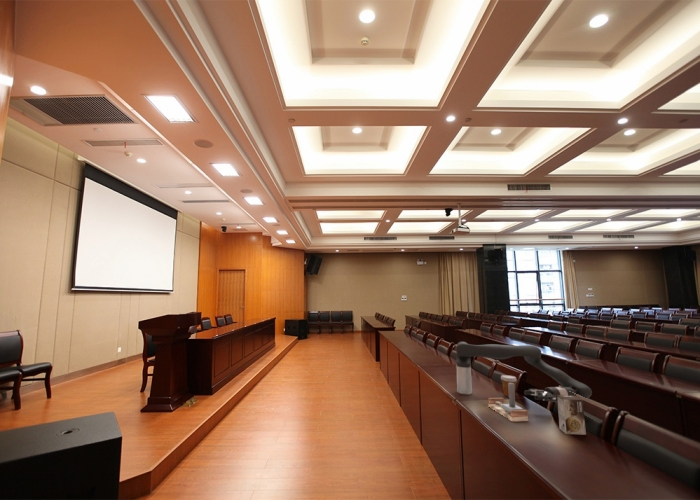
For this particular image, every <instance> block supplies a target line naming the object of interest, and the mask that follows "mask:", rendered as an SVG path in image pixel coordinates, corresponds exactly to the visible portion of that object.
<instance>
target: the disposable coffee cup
mask: <svg viewBox="0 0 700 500" xmlns="http://www.w3.org/2000/svg"><path fill="white" fill-rule="evenodd" d="M500 379H501V383H502V389H503V395H504V396H505V397H508V398H509V390H508V383H514V389H515V390H516V385H517V377H516V376H514V375H506V374H503V375H502V374H501V376H500Z"/></svg>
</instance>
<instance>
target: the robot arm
mask: <svg viewBox="0 0 700 500" xmlns="http://www.w3.org/2000/svg"><path fill="white" fill-rule="evenodd" d="M455 351H456V355H455V356H456V358H455V360H456V361H455V362H456V392H457V393H458V394H460V395H468V396H469V395H472V390H473V389H472V363H471V362H472V361H471V360H472V358H471V357H479V358H480V357H481V358H486V359H495V360H506V359H509V358H512V357H523V358H524V360H525V361H526V362H527V363H528V364H530V365H531V366H533V367H534V368H536V369H537V370H539V371H541V372H542V373H544V374H545V375H547V376H549V377H551V378H552V379H553V380H555V382H557V383H558V384H559V385H560V386H562V387H560V386H550V387H549V386H548V387H545V388H544V389H539V388H528V390H524V392H523V393H524V396H534V400H536V401H540V400H541V401H546V402H550V403H553V402H554V403H558V400H557V395H566V396H576V394H579V395H581V396H583V397H585V398H588V400H589V399H590V397H591V396H592V394H593V392H592V388H590V387H589V386H588V385H587V384H585V383H583V382H581V381H578V380H576V379H574V378H572V377H571V376H569V375H568V374H567V373H566V372H564V371H562V370H561V369H559V368H557V367H553V366H552V365H549V364H548V363H546V362H545V361H544V360H543V359H542V358H541V356H542V350H541V349H540V347H538V346H536V345H531V344H530V345H529V344H528V345H527V344H526V345H525V344H524V345H510V344H494V343H493V344H492V343H491V344H489V343H487V344H470V343H467V342H466V341H459V342H457V344H456V346H455ZM572 387H573V388H572ZM574 388H575V389H574ZM569 391H571V392H569ZM572 392H574V393H576V394H575V395H574V393H572Z"/></svg>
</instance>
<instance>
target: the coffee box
mask: <svg viewBox="0 0 700 500" xmlns="http://www.w3.org/2000/svg"><path fill="white" fill-rule="evenodd" d="M557 400H558V402H557V411H558V413H557V414H558V424H559V425H558V427H559V430H561V431H562V432H563V433H564V434H566V435H583V436H585V435H586V436H587V432H586V422H585V421H586V420H585V411H584V403H583V400H582V399H580V398H579V397H577V396H566V395H557Z"/></svg>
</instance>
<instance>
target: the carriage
mask: <svg viewBox="0 0 700 500" xmlns="http://www.w3.org/2000/svg"><path fill="white" fill-rule="evenodd" d="M508 390H509V397H508V403H504V404H502V407H503V408H504V409H505V410H506V411H507V412H509V413H510V410H524V408H522V407H520V406H519V405H517V404H516V388H515V389H514V383H508Z"/></svg>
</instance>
